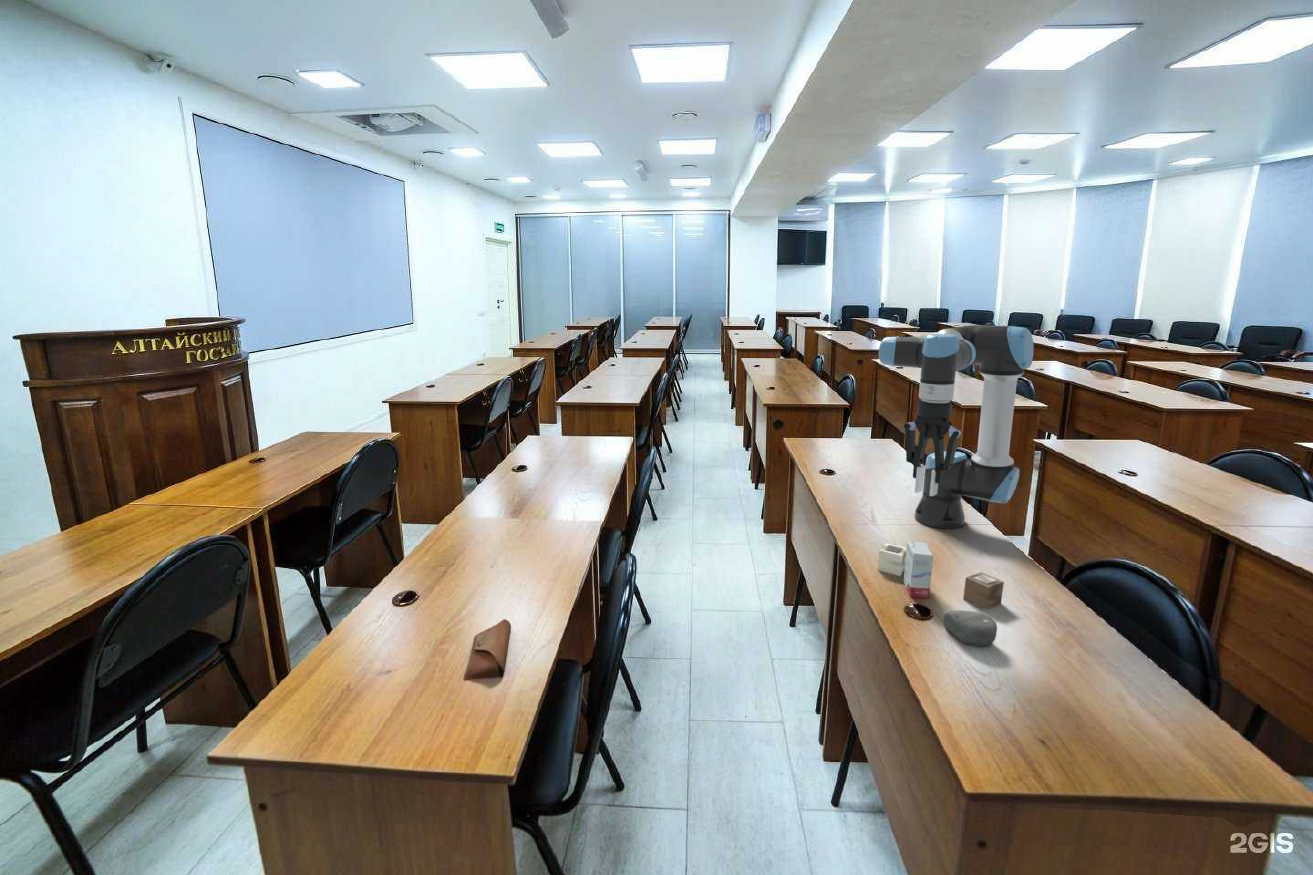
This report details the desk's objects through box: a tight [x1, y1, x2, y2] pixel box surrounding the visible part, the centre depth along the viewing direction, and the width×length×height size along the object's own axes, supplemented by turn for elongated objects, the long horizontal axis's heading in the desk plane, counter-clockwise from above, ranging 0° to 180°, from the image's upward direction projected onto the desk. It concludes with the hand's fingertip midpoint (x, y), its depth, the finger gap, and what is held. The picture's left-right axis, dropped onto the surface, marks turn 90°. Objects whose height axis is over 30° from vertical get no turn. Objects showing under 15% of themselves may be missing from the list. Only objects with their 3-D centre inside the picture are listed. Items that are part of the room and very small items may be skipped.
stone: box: [942, 609, 998, 647], centre depth 138 cm, size 9×9×10 cm
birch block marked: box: [877, 542, 907, 577], centre depth 171 cm, size 6×6×6 cm
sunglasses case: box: [463, 618, 512, 681], centre depth 134 cm, size 18×7×7 cm, turn 9°
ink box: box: [903, 540, 934, 599], centre depth 158 cm, size 9×5×12 cm, turn 168°
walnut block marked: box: [963, 571, 1005, 610], centre depth 153 cm, size 6×6×6 cm
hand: (925, 492), depth 153 cm, fingers open, 3 cm apart
